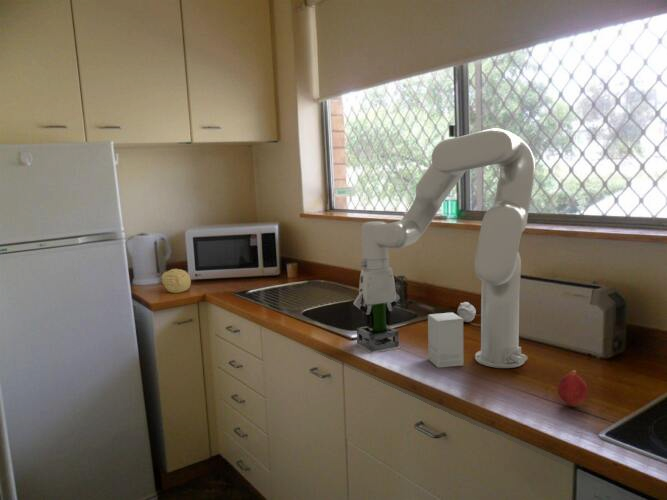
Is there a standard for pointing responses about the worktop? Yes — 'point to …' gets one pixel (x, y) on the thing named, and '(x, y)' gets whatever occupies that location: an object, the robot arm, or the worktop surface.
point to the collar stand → (373, 344)
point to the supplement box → (445, 339)
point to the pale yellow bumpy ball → (176, 280)
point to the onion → (572, 389)
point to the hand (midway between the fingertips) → (377, 324)
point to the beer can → (379, 319)
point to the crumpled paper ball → (466, 311)
